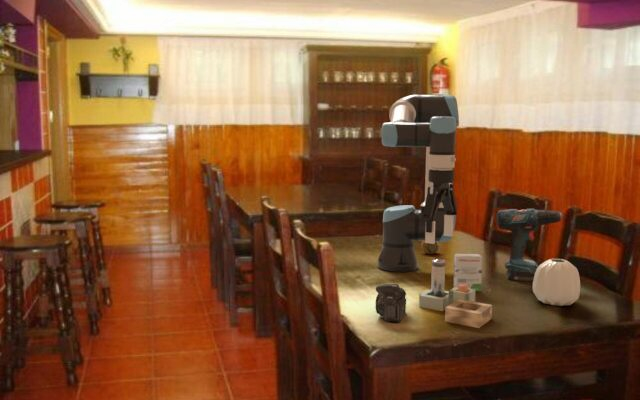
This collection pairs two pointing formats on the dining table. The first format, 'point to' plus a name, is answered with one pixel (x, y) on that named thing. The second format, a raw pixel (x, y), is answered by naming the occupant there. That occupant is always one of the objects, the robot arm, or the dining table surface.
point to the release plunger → (463, 288)
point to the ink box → (468, 270)
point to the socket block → (444, 298)
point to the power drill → (523, 237)
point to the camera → (391, 302)
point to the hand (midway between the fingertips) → (439, 239)
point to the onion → (430, 247)
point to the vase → (556, 282)
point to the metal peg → (438, 277)
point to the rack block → (468, 313)
